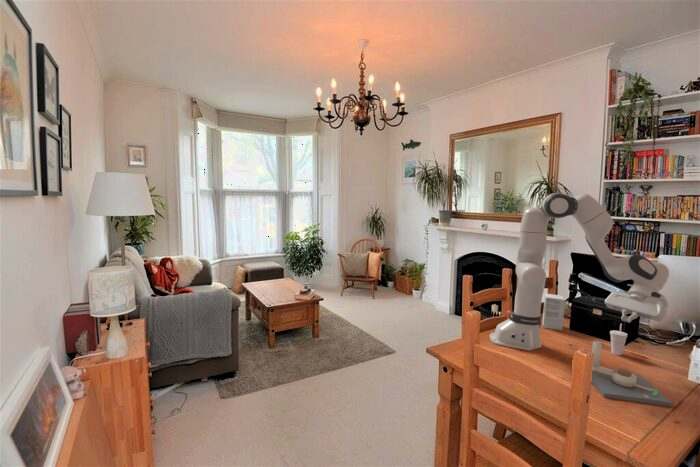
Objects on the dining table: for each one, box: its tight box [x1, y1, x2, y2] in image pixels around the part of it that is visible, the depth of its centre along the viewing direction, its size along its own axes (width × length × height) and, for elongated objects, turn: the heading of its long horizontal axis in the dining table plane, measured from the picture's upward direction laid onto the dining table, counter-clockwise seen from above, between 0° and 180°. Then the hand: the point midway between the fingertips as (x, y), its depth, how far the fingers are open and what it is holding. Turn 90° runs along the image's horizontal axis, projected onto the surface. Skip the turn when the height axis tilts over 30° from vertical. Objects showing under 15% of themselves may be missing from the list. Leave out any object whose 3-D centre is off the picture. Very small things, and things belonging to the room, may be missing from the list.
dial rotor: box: [591, 340, 652, 391], centre depth 131 cm, size 18×7×12 cm, turn 44°
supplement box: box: [541, 293, 566, 331], centre depth 194 cm, size 10×9×17 cm
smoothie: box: [609, 323, 628, 356], centre depth 160 cm, size 6×6×14 cm
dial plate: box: [591, 370, 674, 408], centre depth 131 cm, size 20×20×2 cm
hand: (625, 320), depth 145 cm, fingers closed
